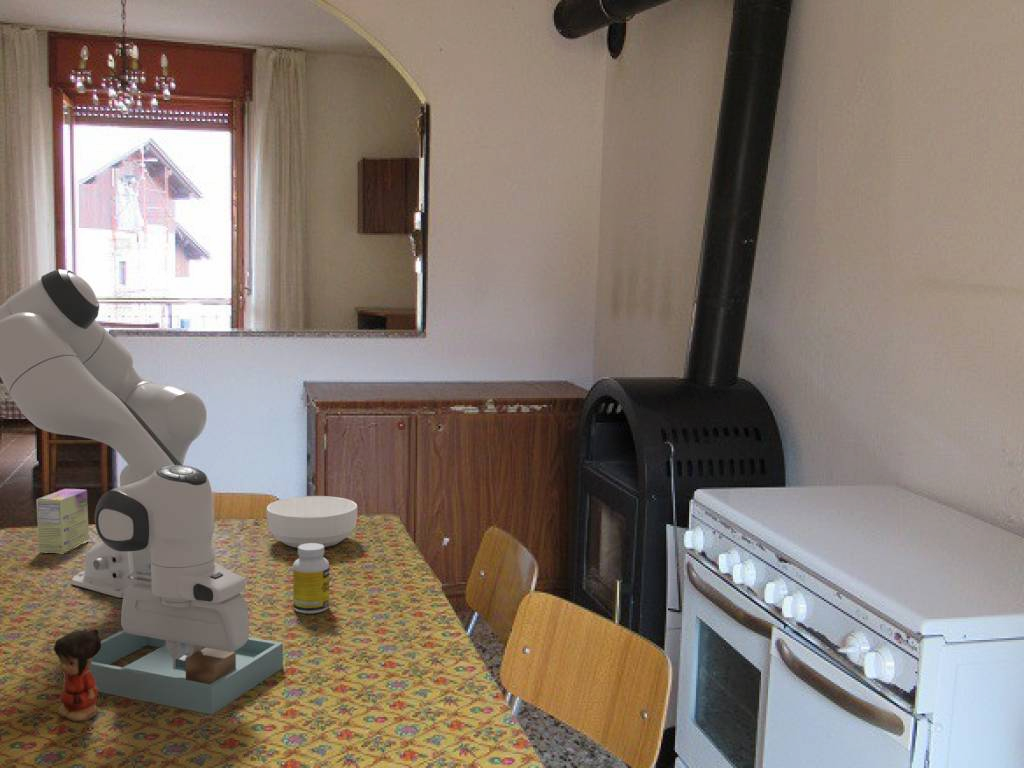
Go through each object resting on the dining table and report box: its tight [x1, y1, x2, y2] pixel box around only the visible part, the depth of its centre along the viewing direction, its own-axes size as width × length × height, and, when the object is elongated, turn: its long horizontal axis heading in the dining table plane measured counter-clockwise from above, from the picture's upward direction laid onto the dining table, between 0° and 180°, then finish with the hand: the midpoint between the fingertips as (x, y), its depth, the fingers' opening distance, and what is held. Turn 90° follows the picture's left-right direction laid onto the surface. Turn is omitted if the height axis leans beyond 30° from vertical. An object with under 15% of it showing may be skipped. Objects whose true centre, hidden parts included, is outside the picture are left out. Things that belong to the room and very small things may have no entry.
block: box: [185, 648, 236, 684], centre depth 150 cm, size 5×5×4 cm
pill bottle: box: [292, 543, 330, 615], centre depth 187 cm, size 6×6×12 cm
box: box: [35, 488, 90, 554], centre depth 222 cm, size 10×6×12 cm, turn 172°
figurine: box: [53, 628, 101, 723], centre depth 143 cm, size 6×6×12 cm
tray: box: [63, 629, 284, 716], centre depth 157 cm, size 26×18×4 cm
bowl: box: [266, 495, 358, 549], centre depth 229 cm, size 20×20×8 cm
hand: (184, 669), depth 152 cm, fingers closed
